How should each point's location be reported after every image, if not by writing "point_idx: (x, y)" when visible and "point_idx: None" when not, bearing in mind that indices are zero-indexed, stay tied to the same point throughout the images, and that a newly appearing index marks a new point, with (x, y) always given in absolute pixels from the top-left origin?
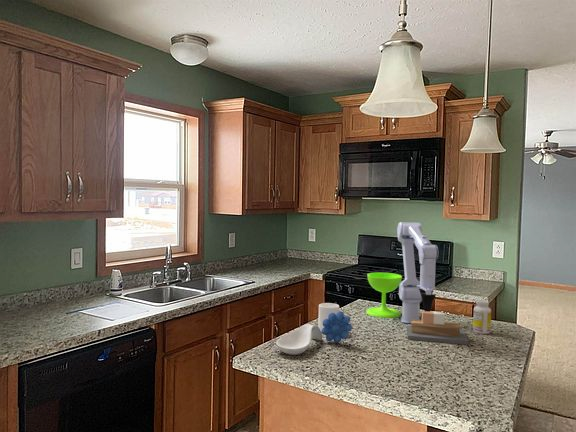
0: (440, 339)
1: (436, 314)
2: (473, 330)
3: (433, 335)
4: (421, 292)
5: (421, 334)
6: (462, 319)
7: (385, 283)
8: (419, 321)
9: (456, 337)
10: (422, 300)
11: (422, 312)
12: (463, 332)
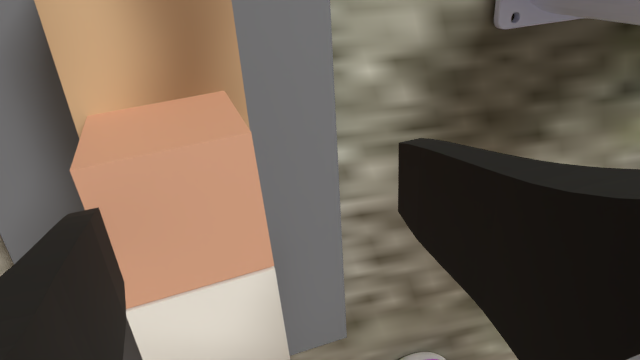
0: (14, 253)
1: (135, 335)
2: (407, 357)
3: (75, 192)
4: (613, 228)
5: (36, 79)
6: None
7: None
8: (156, 68)
9: (127, 347)
10: (464, 168)
11: (157, 148)
12: (290, 352)
